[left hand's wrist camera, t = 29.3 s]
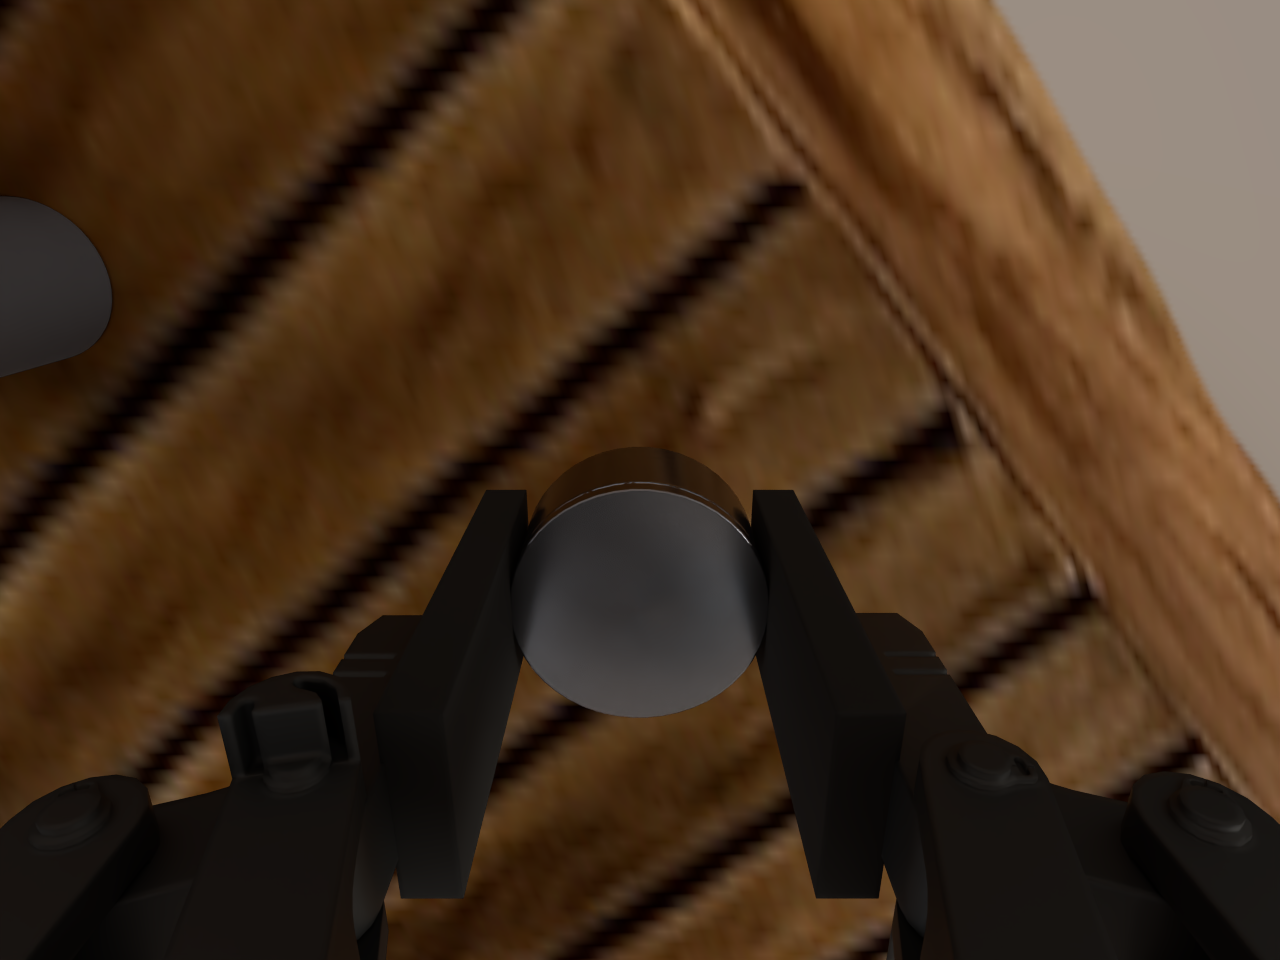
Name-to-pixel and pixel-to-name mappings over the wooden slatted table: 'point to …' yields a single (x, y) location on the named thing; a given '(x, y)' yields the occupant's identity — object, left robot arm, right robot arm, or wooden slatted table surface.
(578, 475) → the cap
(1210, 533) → the wooden slatted table surface
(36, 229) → the bottle
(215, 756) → the wooden slatted table surface
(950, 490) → the wooden slatted table surface
